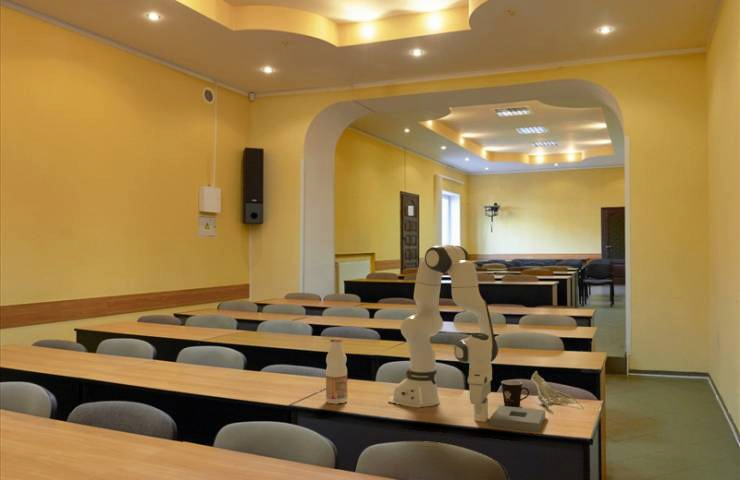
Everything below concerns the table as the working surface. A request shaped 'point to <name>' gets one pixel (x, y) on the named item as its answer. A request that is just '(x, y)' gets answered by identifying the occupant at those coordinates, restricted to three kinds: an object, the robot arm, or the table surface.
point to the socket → (518, 418)
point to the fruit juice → (336, 373)
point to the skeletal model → (549, 393)
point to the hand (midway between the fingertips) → (481, 410)
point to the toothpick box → (482, 411)
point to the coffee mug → (512, 392)
